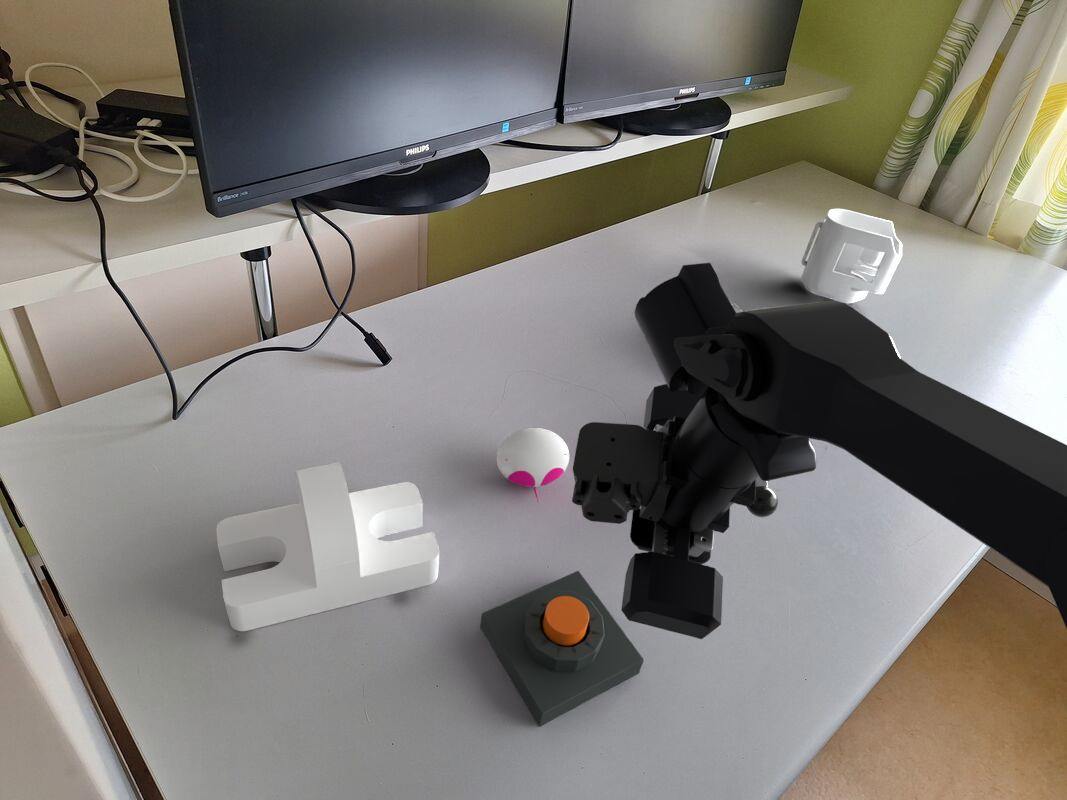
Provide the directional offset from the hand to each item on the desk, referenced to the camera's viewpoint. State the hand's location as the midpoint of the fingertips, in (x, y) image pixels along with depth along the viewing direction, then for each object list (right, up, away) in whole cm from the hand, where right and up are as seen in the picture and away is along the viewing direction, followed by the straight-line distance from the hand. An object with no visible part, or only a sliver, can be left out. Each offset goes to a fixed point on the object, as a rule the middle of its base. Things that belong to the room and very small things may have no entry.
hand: (643, 546), depth 61 cm
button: (-6, -7, +2) cm, 10 cm away
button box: (-7, -10, +4) cm, 12 cm away
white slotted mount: (-27, -3, +8) cm, 29 cm away
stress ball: (-9, +3, +19) cm, 21 cm away
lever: (+14, +7, +18) cm, 24 cm away
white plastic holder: (+38, +28, +55) cm, 72 cm away
